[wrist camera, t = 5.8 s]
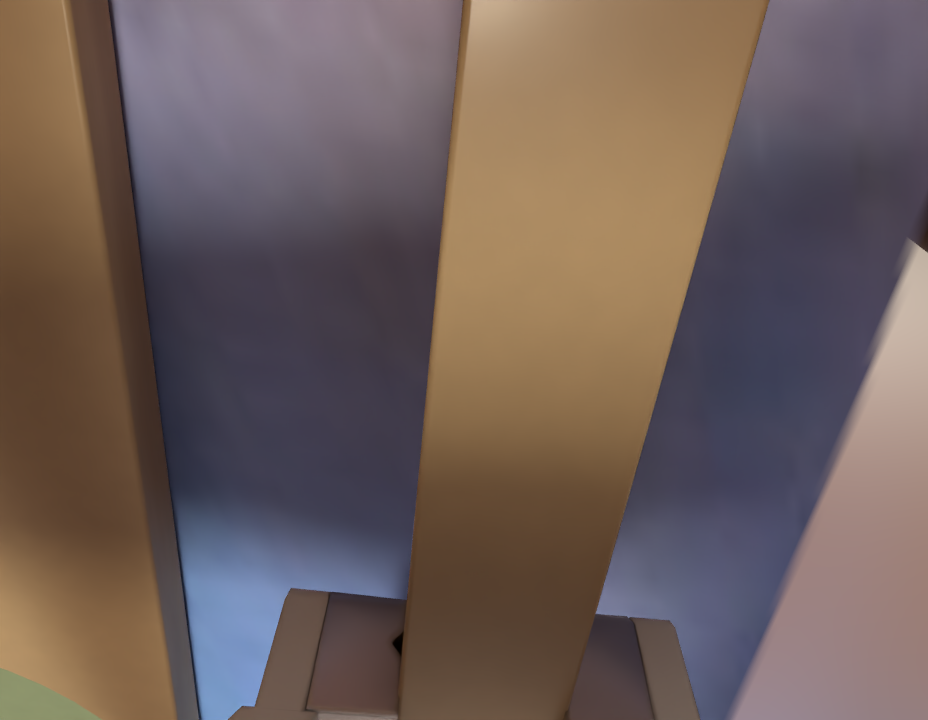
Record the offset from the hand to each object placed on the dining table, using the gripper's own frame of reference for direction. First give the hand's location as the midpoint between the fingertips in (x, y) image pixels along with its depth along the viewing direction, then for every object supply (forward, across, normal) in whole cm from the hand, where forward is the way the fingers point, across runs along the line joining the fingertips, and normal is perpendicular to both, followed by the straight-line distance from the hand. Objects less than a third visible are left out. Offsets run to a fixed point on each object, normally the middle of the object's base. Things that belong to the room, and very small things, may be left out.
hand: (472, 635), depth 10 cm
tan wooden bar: (+2, 0, +1) cm, 2 cm away
